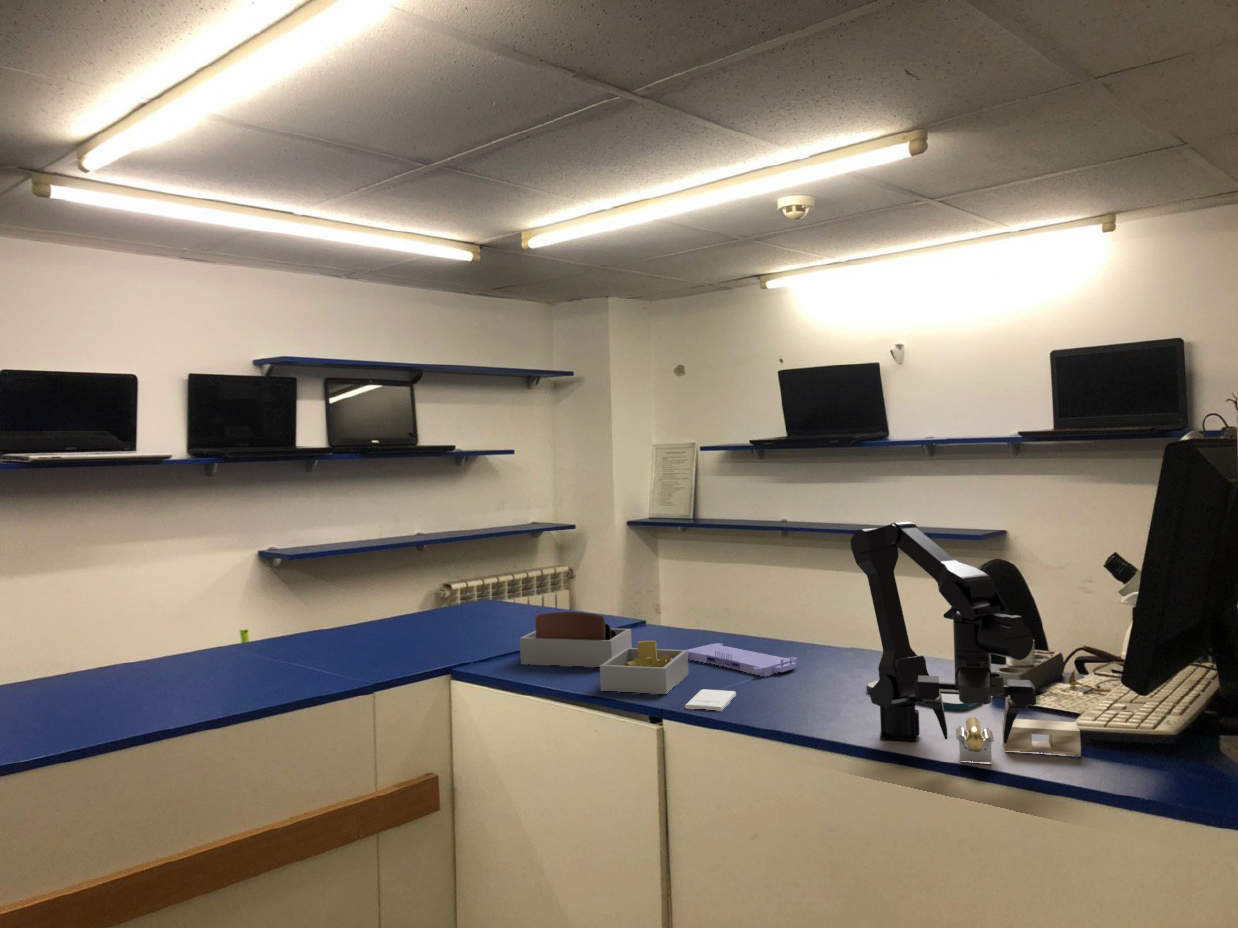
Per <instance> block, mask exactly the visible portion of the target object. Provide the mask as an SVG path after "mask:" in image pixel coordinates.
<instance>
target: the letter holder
mask: <svg viewBox="0 0 1238 928" xmlns="http://www.w3.org/2000/svg"><path fill="white" fill-rule="evenodd" d="M611 627H612V626H610V624H608V623H606V620H605V617H604V616H602V615H599V614H593V613H584V612H574V611H573V612H572V611H561V612H559V611H558V612H549V613H541V614H537V615H536V616H535V631H536V638H557V639H586V640H610V639H612V638H613V637H615V636H617V634H616V632H615V631H614V630H612V629H611Z"/></svg>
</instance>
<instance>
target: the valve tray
mask: <svg viewBox="0 0 1238 928" xmlns="http://www.w3.org/2000/svg"><path fill="white" fill-rule="evenodd" d="M665 655H668V656H670V657H671V658H673V659H672V660H671V661H670V662H669V663H668V664H666V665H665V666H664V667H641V666H623V665H624V663H626V662H631V661H633V659H635V658H638V647H637V648H636V647H635V648H633V647H632V648H626V649H624V650H623V651H621V652H620V653H618V654H617V655H615V656H614V657H612V658H611V659H609V660H608V661H606V662H605V663H603V664H602V665H600V668H599V681H600V691H601V690H611V691H613V690H614V691H626V692H638V693H637V694H639V693H640V692H641V693H652V694H651V695H657V694H667V693H668V692H669V691H670V690H672V688H673V687H674V686H676V685H677V686H678V685H679V684H680V683H681V682H682V681H683V680H684V679H686V677H687V676H689V660H688V649H667V648H664V649H663V648H661V649H660V648H657V660H658V659H661V658H662V657H663V656H665ZM677 686H676V687H677ZM672 691H673V690H672ZM670 692H671V691H670ZM670 692H669V693H670ZM653 693H655V694H653ZM669 693H668V694H669ZM668 694H667V695H668Z"/></svg>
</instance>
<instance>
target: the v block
mask: <svg viewBox="0 0 1238 928" xmlns="http://www.w3.org/2000/svg"><path fill="white" fill-rule="evenodd" d="M981 732H982V738H983V744H984V747H983V749H982V751H980V752H974V751H972V750H971V749H970V748H969V746H968V738H967V730H965V729H964V727H963V726H961V725H959V726H958V727H957V728H955V735H956V736H955V737H956V740H957V741H958V746H959V747H958V748H959V749H958V751H959V753H960V754H959V753H958V754H959V762H960V761H971V762H972V761H973V762H990V763H991V762H993V760H992V758H993V757H992V743H993V742H994V741H995V740H994V739H995V737H994V734H993V731H992V730H991V729H990V728H989V727H987V728H984V730H983V731H981Z"/></svg>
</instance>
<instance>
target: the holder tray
mask: <svg viewBox="0 0 1238 928" xmlns="http://www.w3.org/2000/svg"><path fill="white" fill-rule="evenodd" d="M611 629H612V630H614V631H615V632H616V634H617V636H615V637H613V638H612V639H610V640H586V639H557V638H536V630H534V631H532V632H529V633H527V634H525V635H523V636H521V637H519V652H520V656H519V657H520V664H521V665H528V664H529V666H530V665H532V666H533V665H534V666H550V665H558V666H557V667H572V666H584V667H583V668H594V667H600V665H602V664H603V663H605V662H606V661H608V660H609V659H611V658H612V657H614V656H615V655H617V654H618V653H620V652H621V651H623V650H624V649H626V648H633V646H632V645H633V644H632V628H614V627H612V628H611ZM559 665H560V666H559Z"/></svg>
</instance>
